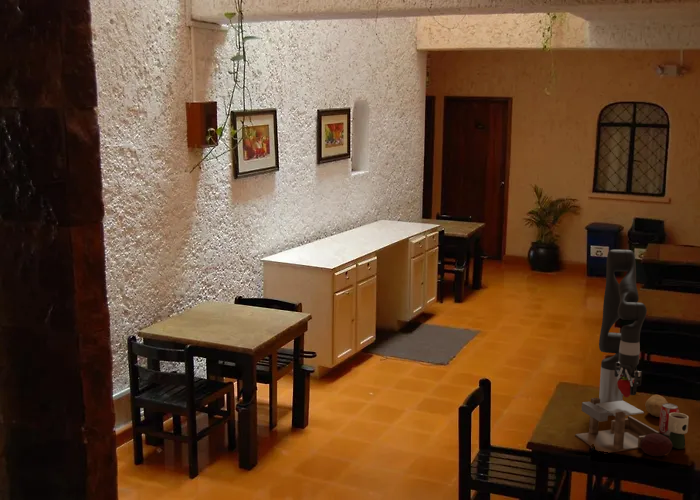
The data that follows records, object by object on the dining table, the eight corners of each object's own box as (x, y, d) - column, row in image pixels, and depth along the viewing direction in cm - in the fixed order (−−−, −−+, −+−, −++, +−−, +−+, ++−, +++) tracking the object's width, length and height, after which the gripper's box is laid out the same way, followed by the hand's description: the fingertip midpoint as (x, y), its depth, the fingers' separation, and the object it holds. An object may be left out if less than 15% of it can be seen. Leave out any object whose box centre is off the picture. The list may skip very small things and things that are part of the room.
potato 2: (669, 451, 294) (671, 430, 292) (673, 463, 283) (675, 442, 282) (638, 447, 297) (639, 427, 295) (641, 459, 286) (642, 438, 285)
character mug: (682, 454, 291) (684, 422, 289) (662, 449, 295) (665, 417, 293) (689, 444, 299) (692, 413, 297) (670, 440, 304) (673, 409, 302)
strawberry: (634, 401, 297) (636, 377, 295) (614, 397, 301) (616, 373, 299) (637, 397, 302) (639, 373, 300) (618, 393, 306) (619, 369, 304)
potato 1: (643, 419, 326) (644, 401, 324) (645, 408, 338) (646, 391, 337) (668, 423, 322) (669, 405, 320) (669, 411, 334) (670, 394, 333)
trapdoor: (622, 405, 309) (623, 397, 309) (643, 416, 297) (644, 408, 297) (580, 410, 304) (581, 402, 303) (600, 422, 291) (601, 413, 291)
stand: (629, 428, 315) (631, 393, 313) (658, 445, 298) (661, 409, 296) (575, 435, 308) (577, 400, 305) (602, 453, 291) (604, 416, 288)
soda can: (654, 431, 312) (656, 403, 311) (668, 429, 315) (670, 401, 313) (667, 438, 306) (669, 409, 304) (681, 435, 308) (683, 407, 306)
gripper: (649, 356, 293) (646, 397, 295) (625, 346, 306) (623, 385, 309) (633, 357, 291) (630, 398, 293) (609, 347, 304) (607, 386, 307)
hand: (626, 391), depth 301 cm, fingers closed on strawberry, 7 cm apart
